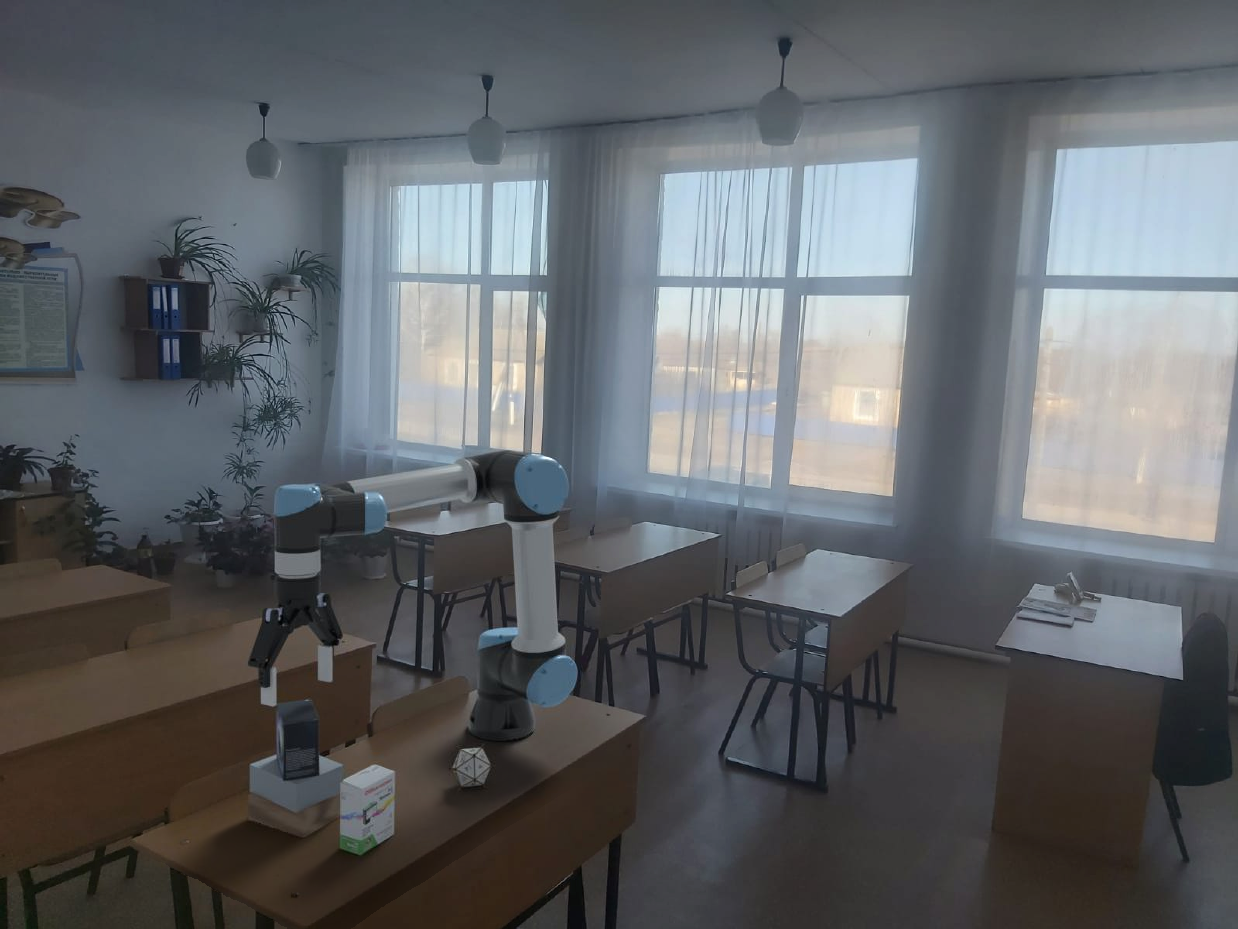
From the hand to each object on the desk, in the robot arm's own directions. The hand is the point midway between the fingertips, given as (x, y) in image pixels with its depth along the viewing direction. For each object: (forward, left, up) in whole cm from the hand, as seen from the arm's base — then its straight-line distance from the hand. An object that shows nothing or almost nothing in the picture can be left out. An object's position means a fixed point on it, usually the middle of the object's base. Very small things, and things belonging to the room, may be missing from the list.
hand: (298, 692), depth 157 cm
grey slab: (-1, -1, -19) cm, 19 cm away
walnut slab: (-1, -1, -24) cm, 24 cm away
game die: (-26, +20, -24) cm, 40 cm away
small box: (0, 0, -14) cm, 14 cm away
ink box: (0, +16, -24) cm, 28 cm away
